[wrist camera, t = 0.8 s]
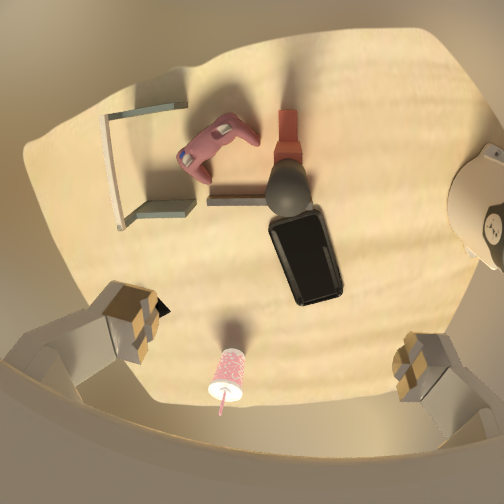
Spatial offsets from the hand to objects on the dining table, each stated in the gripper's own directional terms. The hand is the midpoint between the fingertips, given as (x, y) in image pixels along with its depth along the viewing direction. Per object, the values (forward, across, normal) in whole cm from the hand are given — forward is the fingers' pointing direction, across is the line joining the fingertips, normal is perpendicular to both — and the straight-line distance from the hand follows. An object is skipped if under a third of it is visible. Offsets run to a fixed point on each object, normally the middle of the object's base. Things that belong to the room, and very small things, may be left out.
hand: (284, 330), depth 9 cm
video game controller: (+32, +9, +1) cm, 34 cm away
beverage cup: (+32, +4, +39) cm, 51 cm away
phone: (+32, -6, +15) cm, 36 cm away
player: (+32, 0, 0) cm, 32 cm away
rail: (+32, +3, +7) cm, 33 cm away
